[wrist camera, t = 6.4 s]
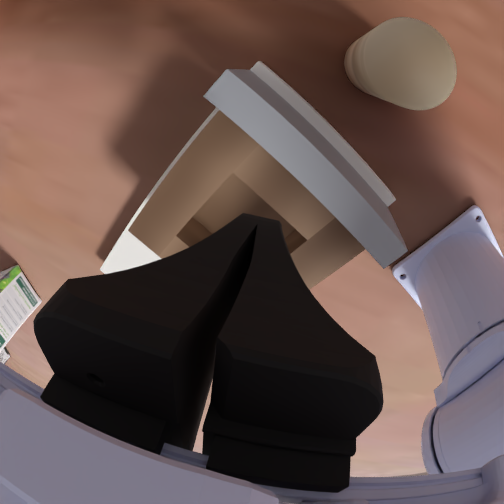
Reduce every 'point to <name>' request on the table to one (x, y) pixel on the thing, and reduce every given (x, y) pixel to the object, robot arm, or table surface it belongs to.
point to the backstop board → (291, 163)
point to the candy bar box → (4, 356)
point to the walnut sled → (241, 202)
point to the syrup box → (15, 302)
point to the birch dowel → (403, 64)
